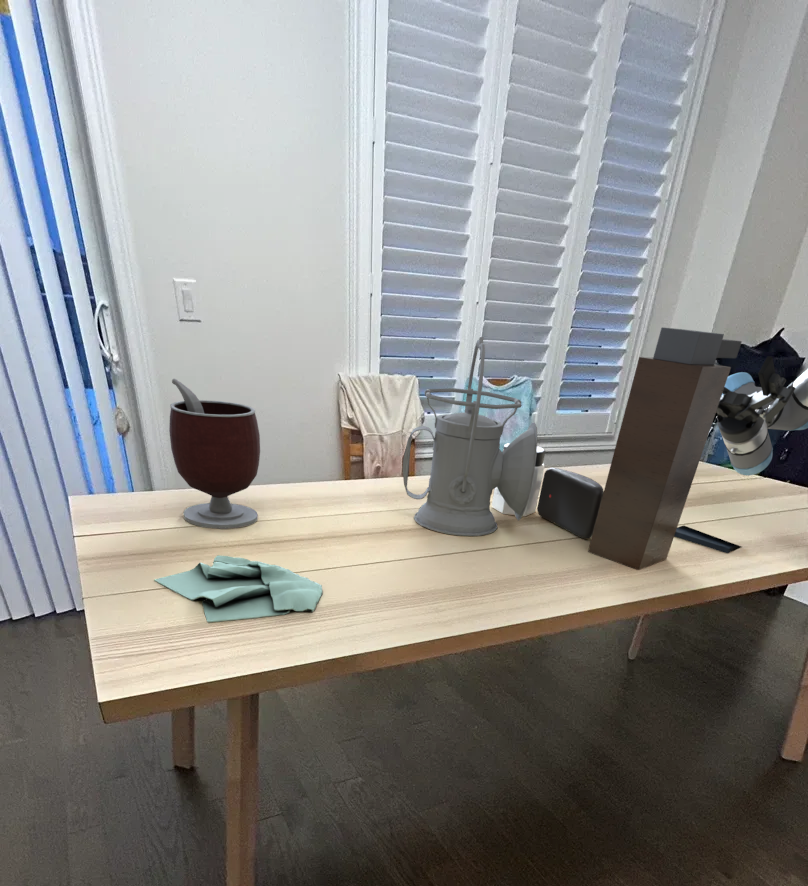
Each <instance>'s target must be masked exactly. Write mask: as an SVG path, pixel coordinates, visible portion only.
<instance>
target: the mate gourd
mask: <svg viewBox="0 0 808 886" xmlns="http://www.w3.org/2000/svg"><path fill="white" fill-rule="evenodd" d="M171 383H172V385H174V386H176V388H177V389H178V390H179V393H180V394H181V397H182V399H183V400H179V401H175V402H172V403H171V404H170V406H169V407H170V411H169V441H170V450H171V453H172V458H173V461H174V464H175V467H176V470H177V473H178V474H179V476H180V477H181V478H182V479H183V480H184V481H185V483H186V484H187V485H188V486H189V487H190V488H192V489H194V490H197V491H199V492H201V493H204V494H206V495H208V496H211V498H210V502H205V503H199V504H195V505H190V506H188V507H186V508H184V510H183V519H184V520H185V521H186V522H187V523H189V524H190V525H194V526H197V527H201V528H207V529H220V530H222V529H226V530H227V529H238V528H243V527H247V526H248V527H249V526H250V525H253V524H255V523H256V522H257V521H258V519H259V514H258V511H256V510H255V509H254V508H253V507H249V506H246V505H242V504H238V503H232V502H231V501H230V498H229V496H231V495H234V494H237V493H239V492H242V491H244V490H247V489H248V488H249V487H250V486H251V484H252V482H253V481H254V480H255V479H256V477H257V475H258V471H259V466H260V459H261V458H260V457H261V437H260V436H261V435H260V429H259V423H258V420H257V419H258V418H257V415H256V409H255V408H254V407H252V406H249V405H247V404H241V403H237V402H230V401H221V400H207V399H206V400H203V399H202V400H201V399H199V398H198V396H197V395H196V394H195V393H194V392H193V391H192V390H191V389H190V388H189V387H188V386H186V385H185V384H184V383H182V382H181V381H179V380H178V379H176V378H172V380H171Z"/></svg>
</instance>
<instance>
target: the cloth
mask: <svg viewBox="0 0 808 886" xmlns="http://www.w3.org/2000/svg"><path fill="white" fill-rule="evenodd" d="M153 581H154V582H156V583H157V584H159V585H161V586H163V587H165V588H166V589H169V590H171V591H172V592H174V593H176V594H178V595H180V596H182V597H184V598H186V599H188V600H190V601H192V602H193V601H195V600H197V599H201V598H204V599H203V600H202V602H201V603H202V607H203V612H204V616H205V619H206V622H207V623H218V622H219V623H220V622H229V621H238V620H239V621H240V620H249V619H258V618H266V617H274V616H285V615H287V614H289V613H290V612H291V611H295V612H304V611H306V612H311V613H314V612H315V610H316V608H317V605H318V604H319V602H320V599H321V597H322V596H323V592H324V591H323V585H322V584H320V583H318V582H316V581H314V580H311V579H310V578H308V577H305V576H301V575H300V574H298V573H295V572H293V570H290V569H289V568H285V567H284V566H283V567H282V566H281V565H277V564H269V563H265V562H262V561H258V560H250V559H248V558H245V557H239V556H237V557H233V556H229V555H219V554H218V555H216V556H215V557H214V559H213V561H212V565H211V566H210V565H208V564H207V563H203V562H198V563H197V564H196V565H195V567H194V568H191V569H190V570H186V571H183V572H182V571H181V572H177V573H174V574H171V575H166V576H163V577H159V578H155V579H153Z"/></svg>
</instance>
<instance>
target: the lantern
mask: <svg viewBox="0 0 808 886" xmlns="http://www.w3.org/2000/svg"><path fill="white" fill-rule="evenodd" d="M485 345H486V344H485V343H484V337H483V336H480V337H479V338H478V339H477V340H476V343H475V346H474V350H473V355H472V360H471V361H472V362H471V365H470V370H469V375H468V384H467V389H465V388H456V387H449V388H447V387H445V388H427V389H425V391H424V396H425V397H426V400H427V405H428V407H429V409H431V411H432V412H433V414H434V418H435V419H434V429H435V433H433V431H432V429H431V428H430V427H428V426H424V425H421V426H417V427H414V428H413V429H412V431H411V433H410V435H409V436H408V438H407V441H406V445H405V449H404V453H403V460H402V479H403V485H404V489H405V492H406V495H407V496H408V497H410V498H411V499H414V500H422V499H424V498H425V497H426V501H425V502H424V503H423V504H422V505H421V506H420V507H419V508H418V510H417V511H416V512H415V514H414V516H413V519H414V521H415V522H416V523H417V524H418V525H420V526H421V527H423V528H425V529H427V530H430V531H433V532H436V533H440V534H446V535H450V536H451V535H453V536H461V537H478V536H480V537H481V536H486V535H490V534H492V533H494V532H496V531H497V530H498V523H497V522H496V518H495V516H494V514H493V512H492V511H491V498H492V496H493V491H494V488H496V487H497V488H498V490H499V492H500V494H501V496H502V497H503V499H504V500H505V501H506V503H507V504H508V506H509V507H510V508H511V509H512V510H514V511H515V515H514V516H515V519H516V520H517V521H520V520H521V519H522V518H523V514H524V512H525V509H526V506H527V503H528V500H529V496H530V491H531V487H532V482H533V476H534V471H535V463H536V455H537V446H538V427H537V424H536V422H534V421H533V422H531V423H530V424H529V426H528V427H527V430H525V431H523V432H522V433H520V434H519V435H518V436H516V437H515V438H514V439H513V440H512V441H511V442H510V444H509V445H508V446H507V447H506V448H505V450H504V451H503V450H501V449H500V447H501V443H500V442H501V437H502V436H503V433H504V428H505V425H506V423H507V422H508V421H509V419H511V418H512V417H513V416H514V415H516V413H517V410H518V409H520V408H522V406H523V404H522V401H521V399H518V398H516V397H511V396H508V395H507V396H506V395H505V394H504V395H503V394H499V393H494V392H490V391H483V384H484V383H483V382H484V381H483V380H484V373H485V372H484V370H485V359H486V358H485V357H486V347H485ZM479 350H480V363H479V373H478V374H479V375H478V385H477V390H474V388H472V386H473V377H474V371H475V367H476V360H477V357H478V352H479ZM432 393H433V394H432ZM434 393H435V394H436V393H457V394H466V396H465V401H464V400H463V401H462V400H455V399H451V398H447V397H444V396H439V395H434ZM473 395H474V396H476V399H475V400H473ZM482 396H485V397H491V398H495V399H499V400H503V401H508V402H512V403H505V404H492V403H484V402H483V403H481V398H482ZM430 400H433V401H439V402H443V403H447V404H450V405H455V406H461V407H464V412H453V413H445V414H438V415H437V413H436V410H435V408H434V407H433V406H432V405H431V403H430ZM480 409H488V410H489V409H491V410H503V409H504V410H505V409H514V410H513V412H511V413H510V414H509V415H508V416H507V417H506V418H504V420H503V422H500V421H498V420H495V419H492V418H489V417H487V416H486V415H482V414H480ZM419 431H427V432H428V433H430V435H431V437H432V440H433V444H432V457H431V458H432V459H431V465H430V466H431V468H430V477H429V480H428V487H427V488H425V491H424V492H423V493H420V494H416V493H413V492H411V491H410V490H409V489H408V480H409V471H410V470H409V469H410V460H411V447H412V437H413V435H414V433H416V432H419ZM502 451H503V452H502Z"/></svg>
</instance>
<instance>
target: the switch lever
mask: <svg viewBox="0 0 808 886" xmlns="http://www.w3.org/2000/svg"><path fill="white" fill-rule="evenodd" d="M724 336H725V334H724V333H718V332H709V331H701V330H693V329H683V328H672V327H661V328H660V331H659V336H658V339H657V343H656V346H655V349H654V354H653V359H657V360H663V361H670V362H676V363H683V364H689V365H716V364H715V363H716V361H717V359H737V358H738V353H739V352H740V349H741V345H742V341H741V340H734V339H727V338H726V339H724Z"/></svg>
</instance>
